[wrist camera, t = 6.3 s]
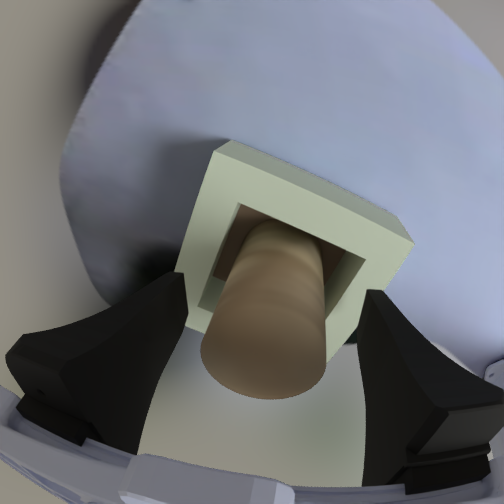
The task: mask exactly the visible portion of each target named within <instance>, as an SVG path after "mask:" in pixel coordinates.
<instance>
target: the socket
mask: <svg viewBox="0 0 504 504" xmlns="http://www.w3.org/2000/svg"><path fill="white" fill-rule="evenodd" d="M271 219H278V220H280V221H283V222H285V223H287V224H290V225H292V226H294V227H296V228H299V229H301V230H303V231H305V232H308V233H310V234H312V235H314V236H315V237H316V238H317V240H318V242H319V244H320V247H321V252H322V266H323V282H324V301H325V324H326V364H327V363H328V362H329V360H330V359H331V358H332V357H333V356H334V355H335V353H336V352H337V351H338V350H339V349H340V347H341V346H342V345H343V344H344V342H345V341H346V340H347V339H348V337H349V336H350V335H351V334H352V332H353V331H354V330H355V328H356V327H357V326H358V322H359V319H360V315H361V311H362V307H363V303H364V299H365V295H366V290H367V289H377V290H382V291H384V289H385V288H386V287H387V285H388V284H389V282H390V281H391V279H392V278H393V277H394V275H395V274H396V272H397V271H398V269H399V268H400V266H401V265H402V263H403V262H404V260H405V259H406V257H407V256H408V254H409V253H410V251H411V249H412V248H413V246H414V245H415V243H414V242H413V240H412V239H411V237H410V235H409V234H408V232H407V231H406V229H405V228H404V226H403V225H402V223H401V222H400V220H399V219H398V217H397V216H395V215H393V214H392V213H390V212H388V211H386V210H384V209H382V208H380V207H378V206H376V205H375V204H373V203H371V202H369V201H367V200H365V199H363V198H361V197H359V196H357V195H355V194H353V193H351V192H349V191H347V190H345V189H343V188H341V187H339V186H337V185H335V184H333V183H330V182H328V181H326V180H324V179H322V178H320V177H318V176H316V175H313V174H311V173H309V172H307V171H305V170H303V169H300V168H298V167H296V166H294V165H291V164H289V163H287V162H284V161H282V160H280V159H278V158H275V157H273V156H271V155H268V154H266V153H263V152H261V151H259V150H256V149H254V148H251V147H249V146H246V145H244V144H241V143H239V142H236V141H234V140H230V141H229V142H227V143H226V144H224V145H222V146H221V147H219V148H217V149H216V150H214V151H213V154H212V157H211V160H210V163H209V165H208V168H207V171H206V174H205V177H204V180H203V183H202V186H201V188H200V191H199V194H198V197H197V200H196V203H195V206H194V209H193V213H192V216H191V219H190V222H189V225H188V228H187V231H186V234H185V238H184V241H183V244H182V247H181V251H180V254H179V257H178V261H177V264H176V267H175V271H174V272H181V273H184V279H185V287H186V295H187V303H188V310H189V314H188V317H187V320H186V323H185V326H187V327H190V328H192V329H194V330H197V331H199V332H201V333H204V334H205V333H206V330H207V328H208V325H209V323H210V320H211V318H212V315H213V313H214V310H215V308H216V306H217V303H218V301H219V298H220V296H221V293H222V291H223V289H224V286H225V284H226V281H227V279H228V276H229V274H230V272H231V269H232V267H233V264H234V262H235V260H236V257H237V255H238V252H239V250H240V247H241V245H242V243H243V240H244V238H245V237H246V235H247V233H248V232H249V231H250V230H251V229H252V228H253V227H255V226H256V225H258V224H259V223H262V222H264V221H267V220H271Z"/></svg>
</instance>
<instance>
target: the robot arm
mask: <svg viewBox="0 0 504 504" xmlns="http://www.w3.org/2000/svg"><path fill="white" fill-rule="evenodd" d="M188 314H189V310H188V303H187V295H186V287H185V279H184V273H181V272H172V271H170V272H168V273H166V274H164V275H162V276H161V277H159V278H158V279H156V280H155V281H153V282H151V283H150V284H148V285H147V286H145V287H144V288H142V289H141V290H139V291H137V292H136V293H134V294H133V295H131V296H129V297H127V298H126V299H124V300H122V301H121V302H119V303H117V304H115V305H114V306H112V307H110V308H108V309H106V310H104V311H102V312H99V313H97V314H95V315H93V316H90V317H88V318H85V319H83V320H80V321H77V322H74V323H72V324H68V325H65V326H62V327H58V328H54V329H50V330H46V331H40V332H35V333H29V334H23V335H22V336H21V337H20V338H19V339H18V341H17V342H16V343H15V344H14V345H13V346H12V348H11V349H10V350H9V351H8V352H7V354H6V355H5V356H6V357H5V358H6V364H7V366H8V368H9V370H10V372H11V374H12V375H13V376H14V378H15V380H16V381H17V383H18V384H19V386H20V387H21V389H22V390H23V392H24V393H25V395H24V396H23V398H22V399H20V398H19V397H18V396H17V395H16V394H14V393H13V392H11V391H9V390H7V389H6V388H4V387H2V386H1V385H0V459H1V460H2V461H4V462H5V463H6V464H8V465H9V466H10V467H12V468H13V469H15V470H16V471H18V472H19V473H21V474H22V475H23V476H25V477H26V478H28V479H29V480H31V481H32V482H34V483H35V484H37V485H39V486H40V487H42V488H43V489H45V490H46V491H48V492H50V493H51V494H53V495H54V496H56V497H58V498H60V499H61V500H63V501H65V502H67V503H68V504H504V359H503V360H500V361H498V362H496V363H494V364H491V365H489V366H488V367H487V369H486V371H485V377H484V380H483V379H481V378H479V377H478V376H476V375H474V374H472V373H471V372H469V371H467V370H466V369H464V368H463V367H461V366H460V365H458V364H457V363H455V362H454V361H453V360H451V359H450V358H448V357H447V356H446V355H444V354H443V353H442V352H441V351H440V350H438V349H437V348H436V347H435V346H434V345H433V344H431V343H430V342H429V341H428V340H427V339H426V338H425V337H424V336H423V335H422V334H421V333H420V332H419V331H418V330H417V329H416V328H415V327H414V326H413V325H412V324H411V323H410V322H409V321H408V320H407V318H406V317H405V316H404V315H403V314H402V313H401V312H400V310H399V309H398V308H397V307H396V306H395V305H394V303H393V302H392V301H391V300H390V299H389V297H388V296H387V295H386V294H385V293H384V292H383V291H382V290H377V289H367V290H366V295H365V299H364V303H363V307H362V311H361V315H360V319H359V322H358V326H357V349H358V356H359V363H360V369H361V375H362V381H363V388H364V394H365V404H366V440H365V441H366V442H365V458H364V471H363V479H362V487H305V486H304V487H303V486H289V485H288V484H285V483H283V482H281V481H278V480H276V479H272V478H267V477H262V476H257V475H250V474H243V473H236V472H230V471H224V470H218V469H214V468H208V467H203V466H199V465H194V464H189V463H185V462H181V461H177V460H173V459H169V458H166V457H162V456H156V455H150V454H141V455H137V452H138V448H139V443H140V439H141V435H142V431H143V427H144V424H145V420H146V416H147V413H148V410H149V407H150V404H151V400H152V397H153V395H154V392H155V389H156V386H157V383H158V381H159V379H160V376H161V374H162V372H163V370H164V368H165V366H166V364H167V362H168V360H169V358H170V356H171V354H172V352H173V350H174V348H175V346H176V344H177V342H178V340H179V338H180V336H181V334H182V332H183V329H184V326H185V323H186V320H187V317H188ZM489 442H490V444H489ZM490 446H491V447H490ZM491 450H492V453H493V457H494V459H492V460H490V461H488V457H487V454H488V453H489V452H490V451H491Z"/></svg>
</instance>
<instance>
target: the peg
mask: <svg viewBox="0 0 504 504" xmlns="http://www.w3.org/2000/svg"><path fill="white" fill-rule="evenodd" d="M201 358H202V361H203V364H204V366H205V367H206V369H207V371H208V372H209V373H210V374H211V376H212V377H213V378H214V379H216V380H217V381H218V382H219V383H220V384H222V385H223V386H225V387H226V388H228V389H230V390H232V391H234V392H236V393H239V394H242V395H245V396H248V397H253V398H258V399H284V398H289V397H293V396H296V395H299V394H301V393H303V392H305V391H307V390H309V389H311V388H312V387H313V386H314V385H316V384H317V383H318V381H319V380H320V379H321V378H322V376H323V374H324V372H325V369H326V324H325V301H324V282H323V266H322V252H321V247H320V244H319V242H318V240H317V238H316V237H315V236H314V235H312V234H310V233H308V232H305V231H303V230H301V229H299V228H296V227H294V226H292V225H290V224H287V223H285V222H283V221H280V220H278V219H271V220H267V221H264V222H262V223H259V224H258V225H256V226H255V227H253V228H252V229H251V230H250V231H249V232H248V233H247V235H246V237H245V238H244V240H243V243H242V245H241V247H240V250H239V252H238V255H237V257H236V260H235V262H234V264H233V267H232V269H231V272H230V274H229V276H228V279H227V281H226V284H225V286H224V289H223V291H222V293H221V296H220V298H219V301H218V303H217V306H216V308H215V310H214V313H213V315H212V318H211V320H210V323H209V325H208V328H207V330H206V333H205V335H204V338H203V340H202V343H201Z"/></svg>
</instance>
